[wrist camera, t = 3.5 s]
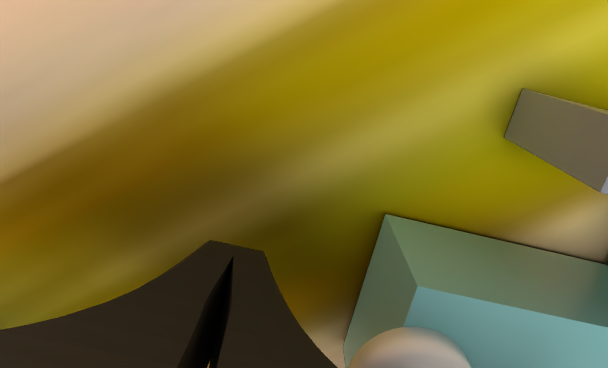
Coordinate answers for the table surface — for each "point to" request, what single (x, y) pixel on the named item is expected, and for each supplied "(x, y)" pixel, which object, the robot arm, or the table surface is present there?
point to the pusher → (475, 304)
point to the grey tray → (563, 135)
